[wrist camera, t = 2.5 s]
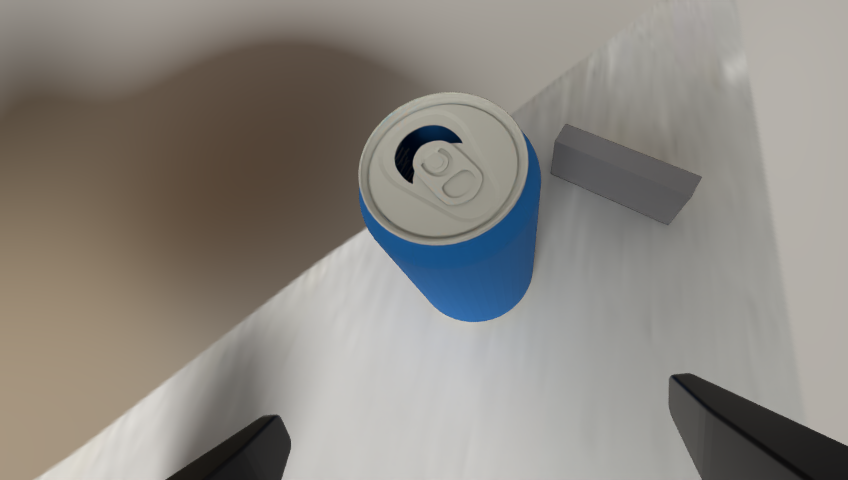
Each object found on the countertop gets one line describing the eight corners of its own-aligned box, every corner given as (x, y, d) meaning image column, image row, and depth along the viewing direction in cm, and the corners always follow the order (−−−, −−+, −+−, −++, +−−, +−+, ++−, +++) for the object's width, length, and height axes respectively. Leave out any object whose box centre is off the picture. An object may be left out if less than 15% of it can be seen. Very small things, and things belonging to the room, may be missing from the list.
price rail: (678, 205, 24) (703, 174, 21) (667, 225, 24) (691, 197, 20) (561, 155, 26) (567, 121, 23) (550, 173, 26) (555, 140, 23)
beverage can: (480, 197, 27) (452, 51, 16) (557, 272, 24) (588, 161, 13) (399, 264, 26) (311, 163, 15) (468, 349, 23) (424, 300, 12)
